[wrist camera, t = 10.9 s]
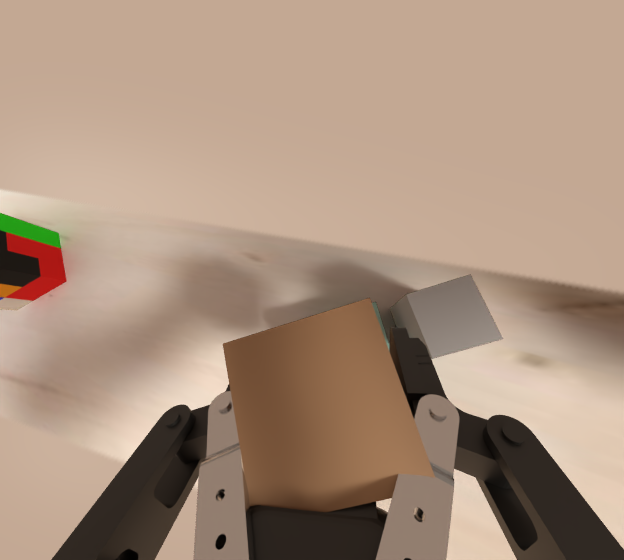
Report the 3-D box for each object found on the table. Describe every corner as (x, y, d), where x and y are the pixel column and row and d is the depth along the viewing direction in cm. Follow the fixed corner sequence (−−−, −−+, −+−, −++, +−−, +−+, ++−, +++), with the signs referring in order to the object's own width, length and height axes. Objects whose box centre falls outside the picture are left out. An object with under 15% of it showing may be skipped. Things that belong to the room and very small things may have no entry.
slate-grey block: (431, 296, 28) (470, 274, 18) (450, 338, 26) (503, 338, 17) (389, 308, 28) (406, 294, 18) (405, 350, 27) (432, 358, 17)
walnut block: (362, 321, 17) (369, 297, 7) (387, 394, 15) (439, 487, 6) (296, 341, 17) (222, 343, 8) (315, 414, 16) (253, 528, 6)
